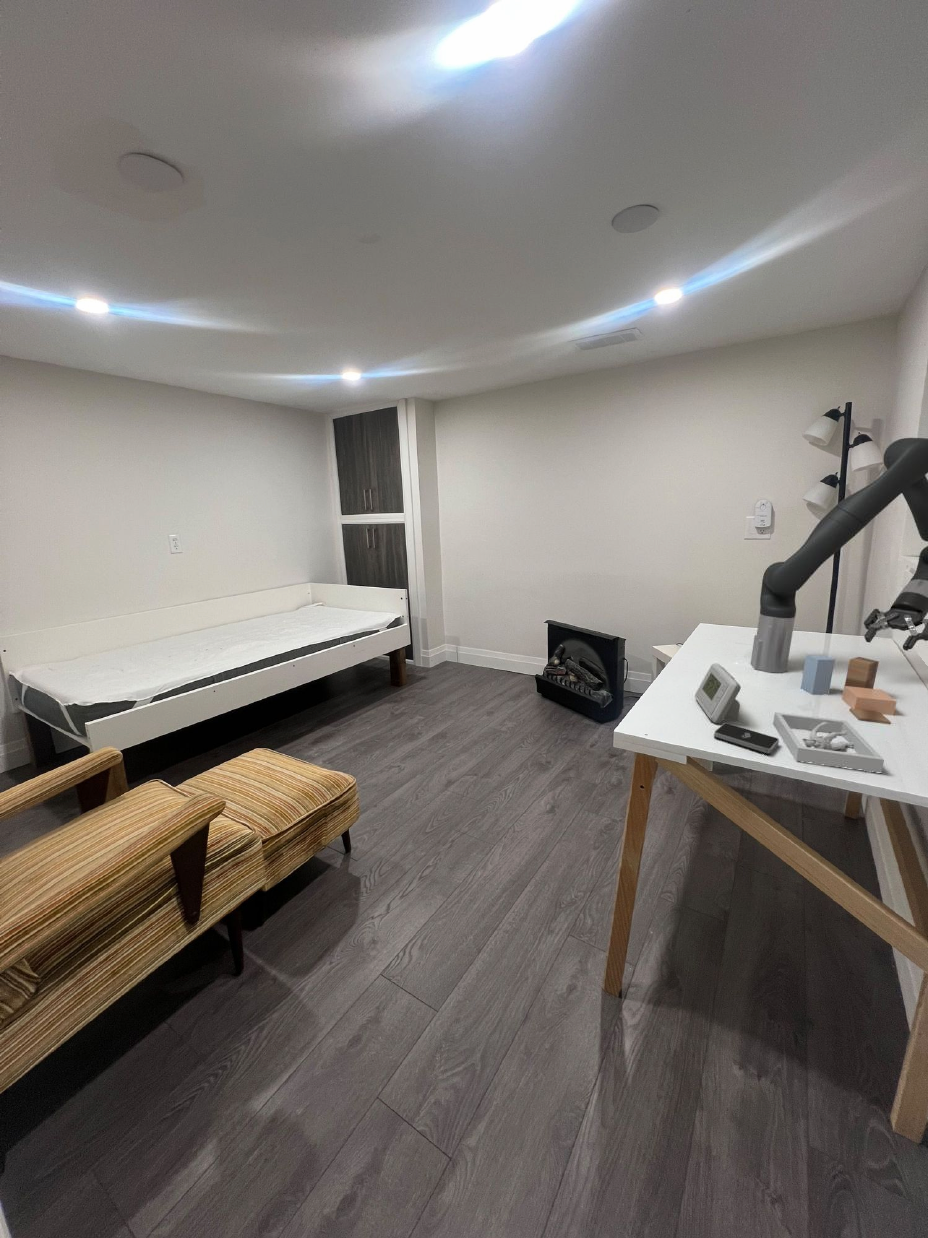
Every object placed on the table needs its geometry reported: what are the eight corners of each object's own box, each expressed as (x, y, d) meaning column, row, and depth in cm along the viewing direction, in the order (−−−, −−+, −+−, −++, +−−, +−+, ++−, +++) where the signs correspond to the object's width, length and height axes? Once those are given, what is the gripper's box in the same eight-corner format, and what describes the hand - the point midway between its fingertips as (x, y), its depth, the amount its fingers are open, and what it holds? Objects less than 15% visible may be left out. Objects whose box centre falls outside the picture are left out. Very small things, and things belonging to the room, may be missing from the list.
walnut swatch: (859, 720, 115) (859, 718, 115) (849, 710, 121) (849, 708, 121) (890, 724, 113) (890, 721, 113) (878, 713, 119) (878, 711, 119)
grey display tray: (796, 761, 97) (798, 748, 96) (772, 724, 113) (774, 712, 113) (881, 774, 92) (884, 759, 92) (844, 733, 109) (846, 720, 108)
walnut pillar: (862, 699, 127) (869, 663, 125) (843, 694, 131) (849, 659, 129) (871, 697, 129) (878, 661, 127) (852, 691, 133) (859, 656, 131)
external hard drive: (768, 758, 99) (770, 749, 98) (711, 740, 107) (713, 731, 106) (778, 747, 104) (779, 738, 103) (723, 730, 111) (724, 722, 111)
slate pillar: (812, 694, 131) (818, 659, 129) (800, 688, 135) (806, 654, 133) (828, 694, 131) (834, 659, 129) (816, 688, 135) (822, 654, 133)
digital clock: (693, 697, 129) (698, 660, 127) (731, 702, 126) (737, 664, 123) (697, 722, 114) (702, 680, 112) (740, 729, 111) (746, 685, 109)
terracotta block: (853, 712, 121) (857, 697, 120) (841, 700, 128) (844, 685, 127) (893, 716, 118) (896, 701, 117) (878, 704, 125) (881, 689, 124)
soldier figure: (863, 758, 100) (838, 755, 94) (838, 765, 103) (812, 763, 97) (842, 723, 104) (817, 718, 98) (819, 731, 108) (793, 726, 101)
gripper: (881, 587, 138) (852, 630, 136) (947, 595, 126) (915, 643, 123) (887, 603, 141) (858, 646, 139) (952, 613, 129) (921, 660, 127)
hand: (885, 644), depth 131 cm, fingers open, 8 cm apart
